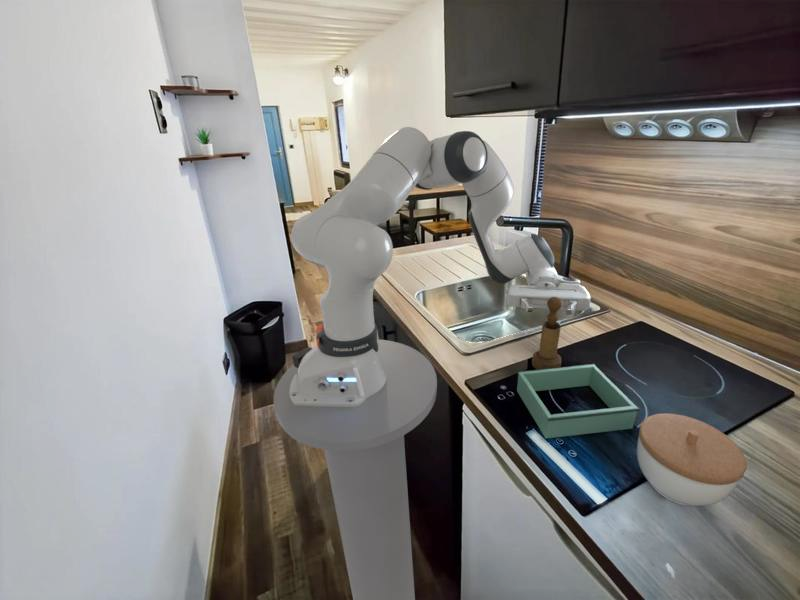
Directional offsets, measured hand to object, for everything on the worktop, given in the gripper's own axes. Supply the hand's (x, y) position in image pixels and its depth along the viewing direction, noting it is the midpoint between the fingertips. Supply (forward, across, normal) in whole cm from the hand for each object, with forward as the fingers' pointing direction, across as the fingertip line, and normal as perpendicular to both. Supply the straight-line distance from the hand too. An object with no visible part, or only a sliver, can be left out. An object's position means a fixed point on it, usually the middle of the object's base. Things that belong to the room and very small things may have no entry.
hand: (549, 311), depth 89 cm
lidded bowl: (+36, +16, +12) cm, 42 cm away
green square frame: (+21, +3, +12) cm, 24 cm away
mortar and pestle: (+6, 0, +12) cm, 13 cm away
